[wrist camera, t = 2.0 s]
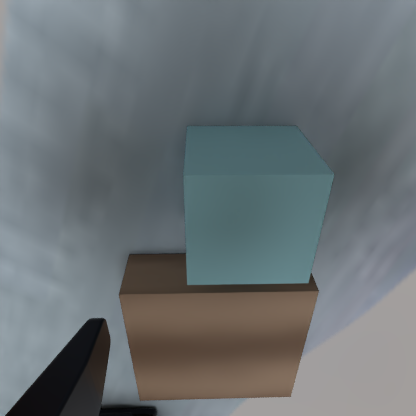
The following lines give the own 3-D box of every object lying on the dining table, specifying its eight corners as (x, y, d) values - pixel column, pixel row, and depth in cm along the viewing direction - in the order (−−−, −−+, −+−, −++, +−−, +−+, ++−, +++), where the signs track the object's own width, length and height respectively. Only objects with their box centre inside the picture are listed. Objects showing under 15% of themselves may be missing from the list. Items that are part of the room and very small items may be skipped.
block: (282, 215, 18) (308, 283, 14) (189, 216, 18) (186, 285, 13) (296, 125, 15) (334, 174, 11) (187, 125, 15) (183, 175, 11)
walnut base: (280, 355, 24) (290, 396, 22) (145, 358, 24) (140, 400, 22) (302, 252, 19) (318, 291, 17) (129, 254, 19) (118, 294, 16)
